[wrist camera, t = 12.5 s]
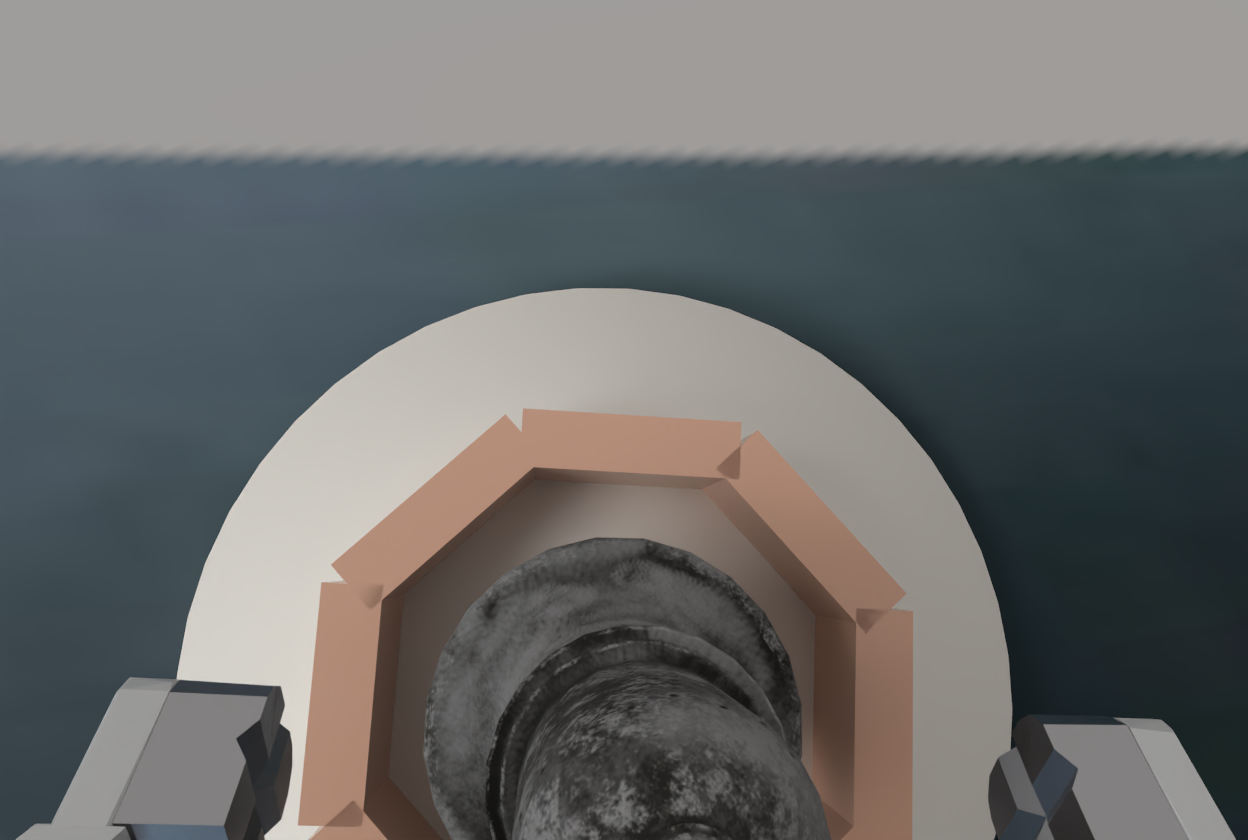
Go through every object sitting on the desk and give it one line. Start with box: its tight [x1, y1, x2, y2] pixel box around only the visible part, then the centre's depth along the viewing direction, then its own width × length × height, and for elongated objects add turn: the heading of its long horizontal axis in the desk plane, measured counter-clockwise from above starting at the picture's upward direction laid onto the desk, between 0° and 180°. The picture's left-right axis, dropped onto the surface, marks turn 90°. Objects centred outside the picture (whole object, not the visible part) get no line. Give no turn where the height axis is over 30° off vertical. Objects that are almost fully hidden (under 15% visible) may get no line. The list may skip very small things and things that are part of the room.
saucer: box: [177, 288, 1012, 840], centre depth 17 cm, size 16×16×4 cm
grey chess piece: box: [423, 537, 831, 840], centre depth 12 cm, size 6×6×12 cm
